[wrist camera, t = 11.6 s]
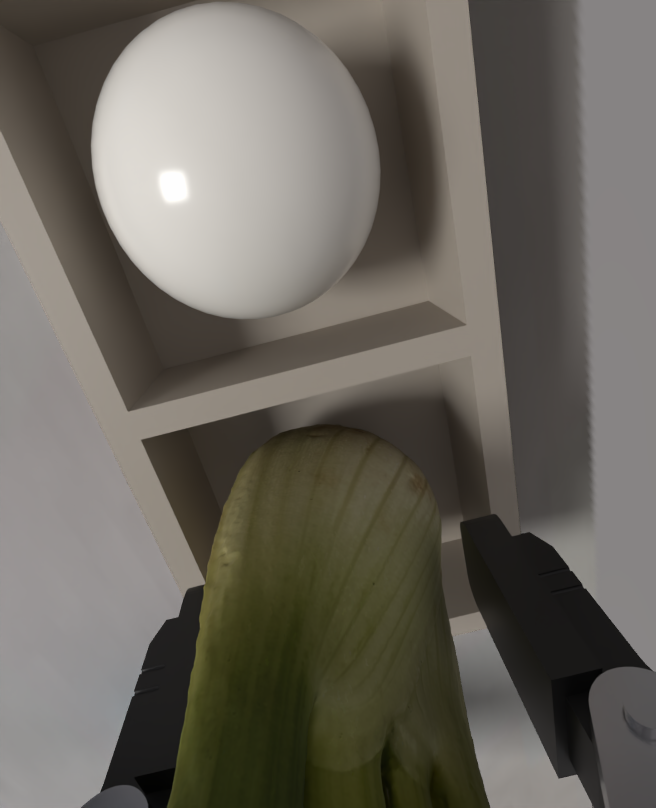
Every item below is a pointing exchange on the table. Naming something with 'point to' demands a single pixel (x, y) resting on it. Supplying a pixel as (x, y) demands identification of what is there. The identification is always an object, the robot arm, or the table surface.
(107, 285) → the tray
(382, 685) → the fennel bulb
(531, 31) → the table surface
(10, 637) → the table surface
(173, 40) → the ceramic egg
